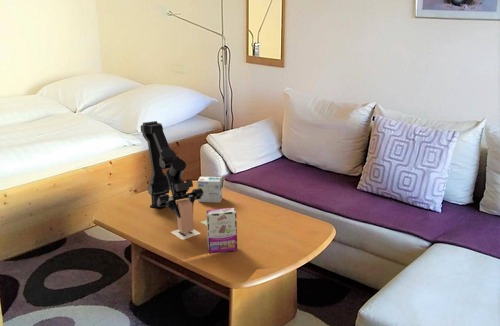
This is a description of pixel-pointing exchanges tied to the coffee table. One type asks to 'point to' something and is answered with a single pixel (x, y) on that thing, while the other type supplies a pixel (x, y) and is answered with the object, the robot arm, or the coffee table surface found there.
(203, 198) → the light bulb box
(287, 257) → the coffee table surface
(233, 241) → the candy bar box
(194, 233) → the mat
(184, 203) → the terracotta block
